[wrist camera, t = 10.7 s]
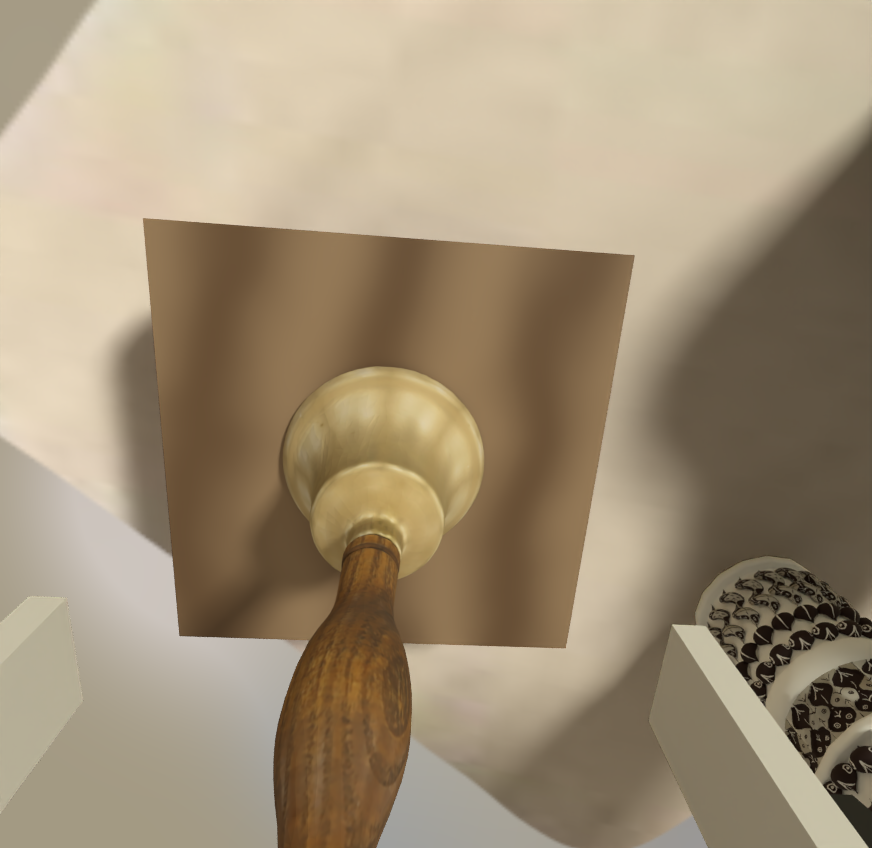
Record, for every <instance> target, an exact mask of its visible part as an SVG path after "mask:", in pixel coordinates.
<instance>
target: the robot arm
mask: <svg viewBox="0 0 872 848" xmlns="http://www.w3.org/2000/svg"><path fill="white" fill-rule="evenodd" d="M82 702H83V695H82V689H81V683H80V677H79V670H78V664H77V658H76V653H75V646H74V640H73V634H72V627H71V621H70V616H69V609H68V602H67V598H62V597H39V596H29V597H28V598H27V599H26V600H25V601H24V602H22V603H21V604H20V605H19V606H18V607H17V608H16V609H15V610H14V611H13V612H12V613H10V614H9V615H8V616H7V617H6V618H5V619H4V620H3V621H2V622H0V814H1V812H2V811H3V809H4V808H5V807H6V805H7V804H8V803H9V801H10V800H11V799H12V797H13V796H14V795H15V793H16V792H17V790H18V789H19V788H20V786H21V785H22V784H23V782H24V781H25V779H26V778H27V777H28V775H29V774H30V773H31V771H32V770H33V769H34V767H35V766H36V764H37V763H38V762H39V760H40V759H41V758H42V756H43V755H44V754H45V752H46V751H47V749H48V748H49V747H50V745H51V744H52V743H53V741H54V740H55V739H56V737H57V736H58V735H59V733H60V732H61V730H62V729H63V728H64V726H65V725H66V724H67V722H68V721H69V719H70V718H71V717H72V715H73V714H74V713H75V711H76V710H77V708H78V707H79V706H80V704H81V703H82ZM648 721H649V723H650V725H651V728H652V730H653V732H654V734H655V736H656V738H657V740H658V742H659V745H660V747H661V749H662V751H663V753H664V755H665V757H666V759H667V762H668V764H669V766H670V768H671V770H672V772H673V774H674V776H675V778H676V781H677V783H678V785H679V787H680V789H681V791H682V793H683V795H684V798H685V800H686V802H687V804H688V806H689V808H690V810H691V812H692V814H693V816H694V819H695V821H696V823H697V825H698V827H699V829H700V831H701V834H702V836H703V838H704V840H705V842H706V844H707V846H708V848H872V811H871V810H869V809H868V808H867V807H866V806H865V805H864V804H862V803H861V802H860V801H859V800H858V799H857V798H855V797H854V796H853V795H843V794H829V793H828V792H827V790H826V789H825V788H824V786H823V785H822V784H821V782H820V781H819V780H818V778H817V777H816V776H815V774H814V773H813V771H812V770H811V769H810V767H809V766H808V765H807V763H806V762H805V761H804V759H803V758H802V757H801V755H800V754H799V752H798V751H797V750H796V748H795V747H794V746H793V744H792V743H791V742H790V740H789V739H788V737H787V736H786V735H785V733H784V732H783V731H782V729H781V728H780V727H779V725H778V724H777V723H776V721H775V720H774V718H773V717H772V716H771V714H770V713H769V712H768V710H767V709H766V708H765V706H764V705H763V703H762V702H761V701H760V699H759V698H758V697H757V695H756V694H755V693H754V691H753V690H752V689H751V687H750V686H749V684H748V683H747V682H746V680H745V679H744V678H743V676H742V675H741V674H740V672H739V671H738V669H737V668H736V667H735V665H734V664H733V663H732V661H731V660H730V659H729V657H728V656H727V655H726V653H725V652H724V650H723V649H722V648H721V646H720V645H719V644H718V642H717V641H716V640H715V638H714V637H713V635H712V634H711V633H710V631H709V630H708V629H707V627H706V626H697V625H674V624H672V626H671V630H670V634H669V639H668V643H667V647H666V651H665V655H664V659H663V663H662V667H661V671H660V675H659V679H658V683H657V687H656V691H655V695H654V699H653V704H652V708H651V712H650V716H649V720H648Z"/></svg>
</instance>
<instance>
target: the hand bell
mask: <svg viewBox="0 0 872 848" xmlns="http://www.w3.org/2000/svg"><path fill="white" fill-rule="evenodd" d="M283 469H284V475H285V479H286V483H287V486H288V489H289V491H290V494H291V496H292V498H293V500H294V502H295V503H296V505H297V507H298V508H299V510H300V511H301V512H302V514H303V515H304V516H305V517H306V518H307V520H308V521H309V522H310V529H311V533H312V537H313V541H314V543H315V545H316V547H317V549H318V551H319V552H320V554H321V555H322V556H323V558H324V559H325V560H326V561H327V562H328V563H329V564H330V565H331V566H332V567H334V568H335V569H337V570H338V571H340V572H341V573H340V580H339V585H338V591H337V596H336V601H335V604H334V606H333V609H332V610H331V612H330V614H329V615H328V617H327V618H326V619H325V621H324V622H323V623H322V624H321V625H320V627H319V628H318V629H317V631H316V632H315V633H314V635H313V636H312V638H311V639H310V641H309V642H308V644H307V646H306V648H305V650H304V652H303V654H302V656H301V658H300V660H299V662H298V664H297V666H296V669H295V672H294V674H293V677H292V680H291V682H290V685H289V688H288V691H287V694H286V697H285V700H284V704H283V708H282V711H281V714H280V718H279V722H278V727H277V732H276V738H275V748H274V770H273V771H274V772H273V773H274V778H273V779H274V797H275V809H276V818H277V831H278V832H277V834H278V848H376V847H377V844H378V841H379V839H380V836H381V834H382V832H383V829H384V827H385V825H386V822H387V820H388V817H389V815H390V812H391V809H392V806H393V804H394V801H395V798H396V795H397V793H398V789H399V787H400V784H401V782H402V777H403V774H404V770H405V766H406V762H407V758H408V752H409V745H410V733H411V715H412V693H411V682H410V674H409V667H408V662H407V657H406V653H405V649H404V646H403V643H402V640H401V637H400V634H399V632H398V629H397V627H396V624H395V621H394V600H395V593H396V587H397V580H398V579H400V578H403V577H406V576H408V575H410V574H412V573H414V572H415V571H417V570H418V569H420V568H421V567H422V566H424V565H425V564H426V563H427V562H428V561H429V560H430V559H431V557H432V556H433V555H434V553H435V552H436V550H437V548H438V546H439V544H440V542H441V539H442V536H443V535H445V534H446V533H447V532H448V531H450V530H451V529H452V528H453V527H454V526H455V525H456V524H457V523H458V522H459V521H460V520H461V519H462V518H463V517H464V516H465V514H466V513H467V512H468V510H469V509H470V507H471V506H472V504H473V502H474V500H475V499H476V497H477V494H478V492H479V489H480V486H481V482H482V478H483V472H484V449H483V443H482V439H481V435H480V432H479V429H478V427H477V424H476V422H475V420H474V418H473V417H472V415H471V414H470V412H469V411H468V409H467V408H466V407H465V405H464V404H463V403H462V402H461V401H460V400H459V399H458V398H457V397H456V396H455V394H454V393H453V392H452V391H450V390H449V389H447V388H446V387H445V386H443V385H442V384H441V383H439V382H438V381H436V380H433V379H431V378H430V377H428V376H426V375H424V374H421V373H418V372H416V371H412V370H408V369H403V368H395V367H381V366H374V367H366V368H362V369H357V370H353V371H350V372H347V373H344V374H341V375H339V376H337V377H335V378H333V379H331V380H329V381H328V382H326V383H324V384H323V385H322V386H320V387H319V388H318V389H316V390H315V391H314V392H313V393H312V394H311V395H310V396H308V397H307V399H306V400H305V401H304V402H303V403H302V404H301V406H300V407H299V409H298V410H297V411H296V413H295V414H294V416H293V418H292V420H291V422H290V425H289V428H288V430H287V433H286V437H285V441H284V447H283Z"/></svg>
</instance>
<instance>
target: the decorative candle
mask: <svg viewBox="0 0 872 848" xmlns="http://www.w3.org/2000/svg"><path fill="white" fill-rule="evenodd" d="M695 621H696V625H697V626H706V627H707V629H708V630H709V631H710V633H711V634H712V635H713V637H714V638H715V640H716V641H717V642H718V644H719V645H720V646H721V648H722V649H723V650H724V652H725V653H726V655H727V656H728V657H729V659H730V660H731V661H732V663H733V664H734V665H735V667H736V668H737V669H738V671H739V672H740V674H741V675H742V676H743V678H744V679H745V680H746V682H747V683H748V684H749V686H750V687H751V689H752V690H753V691H754V693H755V694H756V695H757V697H758V698H759V699H760V701H761V702H762V703H763V705H764V706H765V708H766V709H767V710H768V712H769V713H770V714H771V716H772V717H773V718H774V720H775V721H776V723H777V724H778V725H779V727H780V728H781V729H782V731H783V732H784V733H785V735H786V736H787V737H788V739H789V740H790V742H791V743H792V744H793V746H794V747H795V748H796V750H797V751H798V752H799V754H800V755H801V757H802V758H803V759H804V761H805V762H806V763H807V765H808V766H809V767H810V769H811V770H812V771H813V773H814V774H815V776H816V777H817V778H818V780H819V781H820V782H821V784H822V785H823V786H824V788H825V789H826V790H827V792H828V793H829V794H843V795H853V796H854V797H855V798H857V799H858V800H859V801H860V802H861V803H862V804H864V805H865V806H866V807H867V808H868V809H869V810H871V811H872V622H871V620H869V619H867V618H860V615H859V613H858V612H857V611H856V610H855V609H853V608H852V607H851V604H850V603H849V602H848V601H847V599H845V598H844V597H842V596H838V595H837V594H836V593H835V592H834V591H833V590H832V589H831V587H830V586H829V585H828V584H827V583H825V582H823V581H819V579H818V578H817V577H816V576H815V575H814V574H812V573H811V572H810V571H809V570H807V569H806V568H804V567H803V566H801V565H799V564H798V563H796V562H795V561H793V560H791V559H787V558H780V557H772V556H764V557H759V558H754V559H749V560H745V561H741V562H739V563H738V564H736V565H734V566H733V567H731V568H729V569H727V570H726V571H724V572H722V573H720V574H719V575H718V576H717V577H716V578H715V579H714V581H713V582H712V583H711V584H710V585H709V586H708V587H707V588H706V590H705V591H704V592H703V593H702V596H701V598H700V601H699V604H698V606H697V609H696V612H695Z"/></svg>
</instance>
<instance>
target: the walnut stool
mask: <svg viewBox="0 0 872 848" xmlns="http://www.w3.org/2000/svg"><path fill="white" fill-rule="evenodd" d="M143 224H144V235H145V247H146V258H147V270H148V281H149V292H150V304H151V315H152V327H153V338H154V350H155V361H156V373H157V384H158V395H159V407H160V418H161V430H162V441H163V453H164V464H165V476H166V487H167V498H168V510H169V521H170V533H171V544H172V556H173V567H174V578H175V590H176V601H177V613H178V624H179V635H180V636H195V637H196V636H197V637H226V638H259V639H289V640H310V639H311V638H312V636H313V635H314V633H315V632H316V631H317V629H318V628H319V627H320V625H321V624H322V623H323V622H324V621H325V619H326V618H327V617H328V615H329V614H330V612H331V610H332V609H333V606H334V604H335V601H336V596H337V591H338V585H339V580H340V573H341V572H340V571H338V570H337V569H335V568H334V567H332V566H331V565H330V564H329V563H328V562H327V561H326V560H325V559H324V558H323V556H322V555H321V554H320V552H319V551H318V549H317V547H316V545H315V543H314V541H313V537H312V533H311V529H310V522H309V521H308V520H307V518H306V517H305V516H304V515H303V514H302V512H301V511H300V510H299V508H298V507H297V505H296V503H295V502H294V500H293V498H292V496H291V494H290V491H289V489H288V486H287V483H286V479H285V475H284V469H283V447H284V441H285V437H286V433H287V430H288V428H289V425H290V422H291V420H292V418H293V416H294V414H295V413H296V411H297V410H298V409H299V407H300V406H301V404H302V403H303V402H304V401H305V400H306V399H307V397H308V396H310V395H311V394H312V393H313V392H314V391H315V390H316V389H318V388H319V387H320V386H322V385H323V384H324V383H326V382H328V381H329V380H331V379H333V378H335V377H337V376H339V375H341V374H344V373H347V372H350V371H353V370H357V369H362V368H366V367H374V366H381V367H395V368H403V369H408V370H412V371H416V372H418V373H421V374H424V375H426V376H428V377H430V378H431V379H433V380H436V381H438V382H439V383H441V384H442V385H443V386H445V387H446V388H447V389H449V390H450V391H452V392H453V393H454V394H455V396H456V397H457V398H458V399H459V400H460V401H461V402H462V403H463V404H464V405H465V407H466V408H467V409H468V411H469V412H470V414H471V415H472V417H473V418H474V420H475V422H476V424H477V427H478V429H479V432H480V435H481V439H482V443H483V449H484V472H483V478H482V482H481V486H480V489H479V492H478V494H477V497H476V499H475V500H474V502H473V504H472V506H471V507H470V509H469V510H468V512H467V513H466V514H465V516H464V517H463V518H462V519H461V520H460V521H459V522H458V523H457V524H456V525H455V526H454V527H453V528H452V529H451V530H450V531H448V532H447V533H446V534H445V535H443V536H442V539H441V542H440V544H439V546H438V548H437V550H436V552H435V553H434V555H433V556H432V557H431V559H430V560H429V561H428V562H427V563H426V564H425V565H424V566H422V567H421V568H420V569H418V570H417V571H415V572H414V573H412V574H410V575H408V576H406V577H403V578H400V579H398V580H397V587H396V593H395V600H394V621H395V624H396V627H397V629H398V632H399V634H400V637H401V640H402V643H415V644H446V645H478V646H509V647H541V648H566V643H567V638H568V632H569V626H570V621H571V615H572V609H573V604H574V598H575V592H576V586H577V581H578V575H579V569H580V564H581V558H582V552H583V547H584V541H585V535H586V530H587V524H588V518H589V513H590V507H591V501H592V495H593V490H594V484H595V478H596V473H597V467H598V461H599V456H600V450H601V444H602V439H603V433H604V427H605V421H606V416H607V410H608V404H609V399H610V393H611V387H612V382H613V376H614V370H615V365H616V359H617V353H618V348H619V342H620V336H621V330H622V325H623V319H624V313H625V308H626V302H627V296H628V291H629V285H630V279H631V274H632V268H633V262H634V256H635V255H622V254H608V253H595V252H582V251H569V250H556V249H542V248H529V247H516V246H503V245H490V244H476V243H463V242H450V241H437V240H424V239H410V238H397V237H384V236H371V235H358V234H344V233H331V232H318V231H305V230H292V229H278V228H265V227H252V226H239V225H226V224H212V223H199V222H186V221H173V220H160V219H146V218H143Z"/></svg>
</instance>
